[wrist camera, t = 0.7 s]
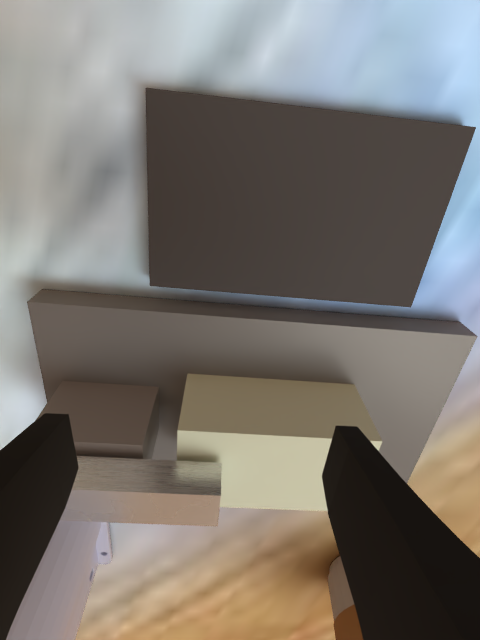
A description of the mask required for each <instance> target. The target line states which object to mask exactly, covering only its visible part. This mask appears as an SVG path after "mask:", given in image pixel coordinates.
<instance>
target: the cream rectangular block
mask: <svg viewBox="0 0 480 640" xmlns="http://www.w3.org/2000/svg"><path fill="white" fill-rule="evenodd" d="M336 426H357V427H358V428H359V429H360V430H361V431H362V432H363V434H364V435H365V436H366V437H367V438H368V439H369V441H370V442H371V443H372V444H373V445H374V446H375V448H376V449H377V450H378V451H379V449H380V446H381V444H382V439H381V437H380V435H379V433H378V431H377V429H376V427H375V425H374V423H373V421H372V419H371V417H370V415H369V413H368V411H367V409H366V407H365V405H364V403H363V401H362V399H361V397H360V395H359V393H358V391H357V389H356V387H355V385H354V384H341V383H325V382H310V381H295V380H279V379H264V378H249V377H233V376H218V375H203V374H187V379H186V385H185V390H184V396H183V402H182V407H181V413H180V419H179V424H178V430H177V461H193V462H214V463H222V471H221V499H220V507H233V508H258V509H283V510H308V511H328V510H327V504H326V499H325V493H324V487H323V481H322V473H323V469H324V466H325V462H326V459H327V455H328V452H329V448H330V444H331V441H332V437H333V434H334V430H335V427H336Z"/></svg>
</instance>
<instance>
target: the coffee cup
mask: <svg viewBox="0 0 480 640" xmlns="http://www.w3.org/2000/svg"><path fill="white" fill-rule="evenodd" d="M328 586H329V592H330V598H331V604H332V611H333V617H334V630H335V637H336V640H363V637H362V632H361V628H360V624H359V620H358V616H357V612H356V608H355V605H354V601H353V598H352V595H351V591H350V588H349V584H348V581H347V577H346V574H345V571H344V567H343V564H342V560H341V557H340V556H339V557H337V558H336V559H335V560H334V561H333V562H332V564H331V566H330V571H329V575H328Z"/></svg>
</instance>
